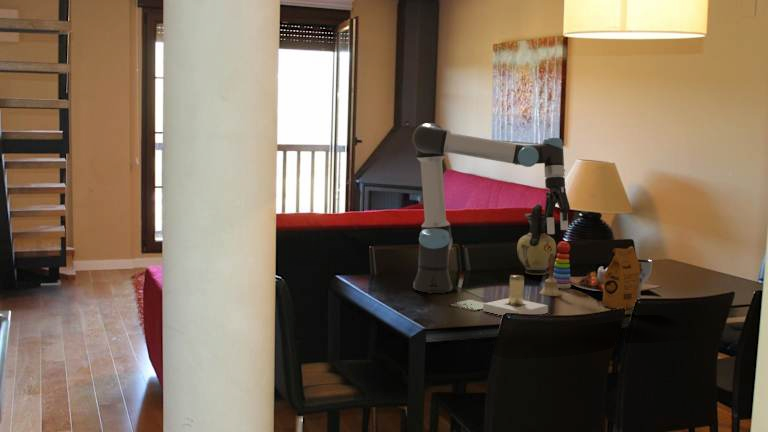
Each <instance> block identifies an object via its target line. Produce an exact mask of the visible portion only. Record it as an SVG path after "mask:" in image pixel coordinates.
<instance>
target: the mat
mask: <svg viewBox="0 0 768 432" xmlns="http://www.w3.org/2000/svg"><path fill="white" fill-rule="evenodd" d="M458 303H459V305H460V304H461V305H462V306H463V307H465V308H467V306H468V308H469V309H471V308H473V309H474V310H475V309H476V310H477V309H483V304H484V303H485V302H482V301H477V300H473V299H466V300H462V301H457V304H458ZM465 303H466V305H467V306H466V305H463V304H465ZM471 304H472V305H471ZM461 305H460V306H461ZM462 306H461V307H462ZM470 307H471V308H470Z"/></svg>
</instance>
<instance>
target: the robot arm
mask: <svg viewBox="0 0 768 432" xmlns="http://www.w3.org/2000/svg"><path fill="white" fill-rule="evenodd" d="M412 144H413V146H414V147H415V155H416V159H417V160H418V161H419V162H420V171H421V172H420V173H421V186H422V187H421V188H422V197H423V212H424V213H423V214H424V222H423V223H422V224H421V231H420V233H419V237H418V245H419V246H418V264H417V265H418V266H417V267H418V269H417V272H416V275H415V277H414V281H413V285H412V289H413V288H414V289H415V290H418V291H423V292H432V293H442V294H445V293H444V292H449V293H451V292H452V290H453V284H452V281H451V277H450V273H449V260H450V259H449V256H450V252H451V250H452V247H453V244H454V243H453V241H454V240H453V237H452V231H451V223H450V222H449V221H448V220H447V213H446V198H445V186H444V185H445V184H444V170H443V160H444V159H445V157H446V155H447V154H454V155H461V156H465V157H466V156H467V157H471V158H478V159H484V160H490V161H494V162H495V161H496V162H501V163H506V164H507V163H508V164H514V166H515V165H516V166H523V167H525V168H529V167H530V168H531V167H533V166H535V165H538V164H540V165H541V164H544V165H543V166H544V178H545V180H544V181H545V183H544V184H545V188H546V189H547V190H549V191H548V192H546V193H545V205H544V213H543V214H544V217H546V218H547V222H546V228H547V229H546V231H547V232H546V234H547V235H555V233H556V231H555V230H556V229H555V215H554V213H555V209H556V204H557V205H558V207H559V208H558V209H560V210H559V217H560V218H559V221H560V230H561V231H569V219H568V218H569V217H568V214H569V213H568V212H569V211H570V210H571V206H570V202H569V199H568V196H567V192H566V189H567V188H566V179H565V171H566V169H565V156H564V145H563V144H564V143H563V140H562V139H561V138H560V137H547V138H544V139H543V142H542V143H541V144H525V145H522V144H516V143H512V142H507V141H500V140H495V139H494V140H493V139H487V138H482V137H477V136H470V135H465V134H460V133H453V132H451V130H450V129H446V128H442V126H441V125H438V123H437V124H436V123H433V122H427V123H426V122H425V123H422V124H420V125H418V127H416V128H415V130H414V132H413V134H412ZM415 290H414V291H415ZM450 291H451V292H450Z"/></svg>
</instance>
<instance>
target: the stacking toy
mask: <svg viewBox="0 0 768 432" xmlns="http://www.w3.org/2000/svg"><path fill="white" fill-rule="evenodd" d="M556 250H557V251H558V252H557V253H556V257H555V265H554V269H553V279H554V280H556V281H557V288H558V289H561V290H562V289H564V290H565V289H571V287H572V283H571V277H572V276H571V273H570V272H571V269H570V268H571V264H570V259H569V258H570V254H569V252H570V250H571V245H570V243H569V242H567V241H563V240H562V241H560V242H558V244H557V245H556Z"/></svg>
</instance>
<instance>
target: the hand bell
mask: <svg viewBox="0 0 768 432" xmlns="http://www.w3.org/2000/svg"><path fill="white" fill-rule="evenodd" d="M555 263H556V257H554V254H552V253H550V256H549V259H548V266H549V267H548V278H547V279H545V280H544V284H543V288H542V289H541V290H540V291H539V294H540V295H542V296H545V297H547V296H548V297H559V296H561V295H562V293H561V292H560V290H559V288H557V281H556V280H554V279H553V277H554V276H553V273H554V268H555Z"/></svg>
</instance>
